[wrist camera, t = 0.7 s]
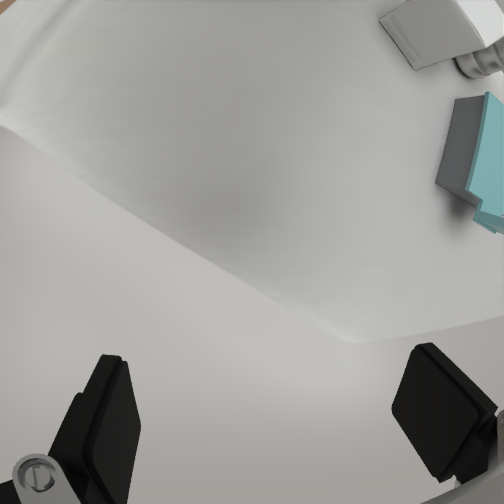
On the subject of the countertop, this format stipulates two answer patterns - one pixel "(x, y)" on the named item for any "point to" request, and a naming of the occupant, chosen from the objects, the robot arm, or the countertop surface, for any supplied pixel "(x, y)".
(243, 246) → the countertop surface
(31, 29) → the countertop surface
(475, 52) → the plastic bottle
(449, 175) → the tub
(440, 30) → the supplement box
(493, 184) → the lid
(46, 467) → the robot arm
